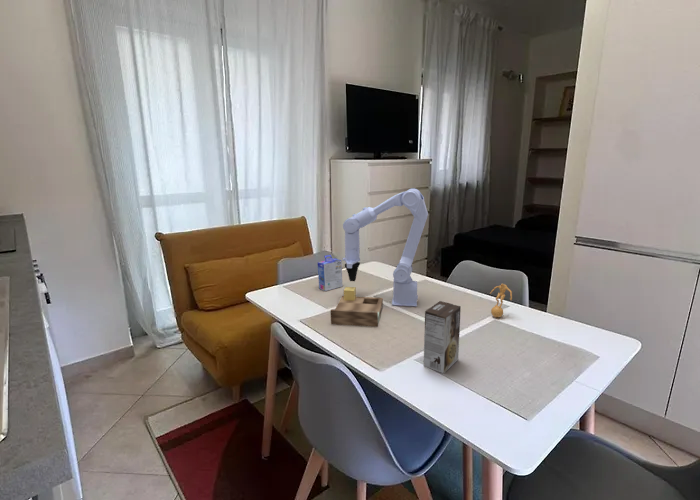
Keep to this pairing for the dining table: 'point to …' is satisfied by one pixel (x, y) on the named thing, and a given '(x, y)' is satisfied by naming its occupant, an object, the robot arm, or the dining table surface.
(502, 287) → the figurine
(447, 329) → the coffee box
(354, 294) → the cube
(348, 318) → the board
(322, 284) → the ink cartridge box
